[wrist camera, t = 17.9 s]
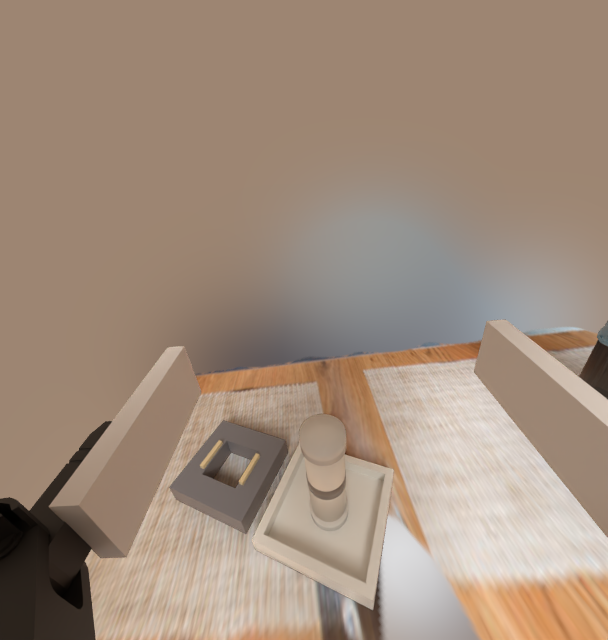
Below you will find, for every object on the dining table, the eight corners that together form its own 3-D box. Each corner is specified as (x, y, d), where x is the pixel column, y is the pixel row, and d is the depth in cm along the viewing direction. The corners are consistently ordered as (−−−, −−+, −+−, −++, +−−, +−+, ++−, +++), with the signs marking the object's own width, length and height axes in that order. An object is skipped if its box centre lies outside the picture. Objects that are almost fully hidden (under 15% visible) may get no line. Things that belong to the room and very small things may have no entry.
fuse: (318, 485, 39) (309, 409, 31) (352, 498, 37) (351, 420, 29) (304, 521, 35) (290, 445, 27) (341, 538, 33) (337, 461, 25)
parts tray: (301, 450, 44) (300, 440, 43) (393, 480, 39) (393, 469, 38) (255, 549, 33) (251, 540, 32) (373, 610, 28) (373, 601, 27)
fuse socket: (227, 432, 49) (222, 417, 47) (287, 452, 44) (284, 437, 43) (176, 499, 40) (167, 484, 38) (246, 534, 35) (240, 519, 33)
